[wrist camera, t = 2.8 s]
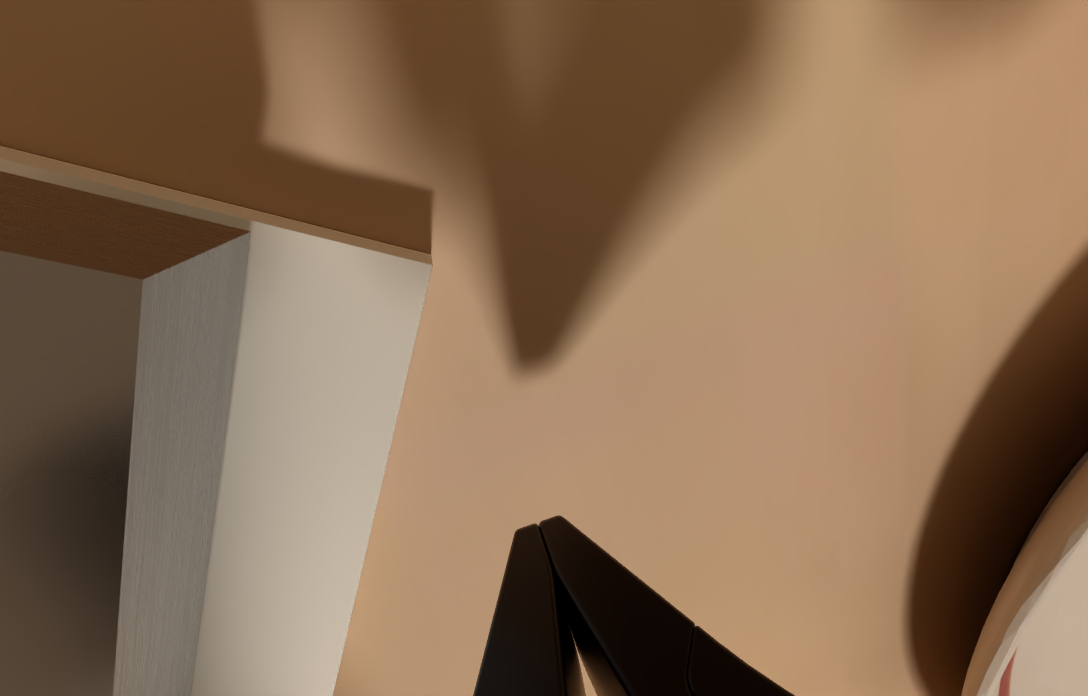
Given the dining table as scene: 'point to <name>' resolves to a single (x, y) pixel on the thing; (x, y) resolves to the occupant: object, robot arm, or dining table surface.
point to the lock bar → (109, 436)
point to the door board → (290, 433)
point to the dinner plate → (1041, 607)
